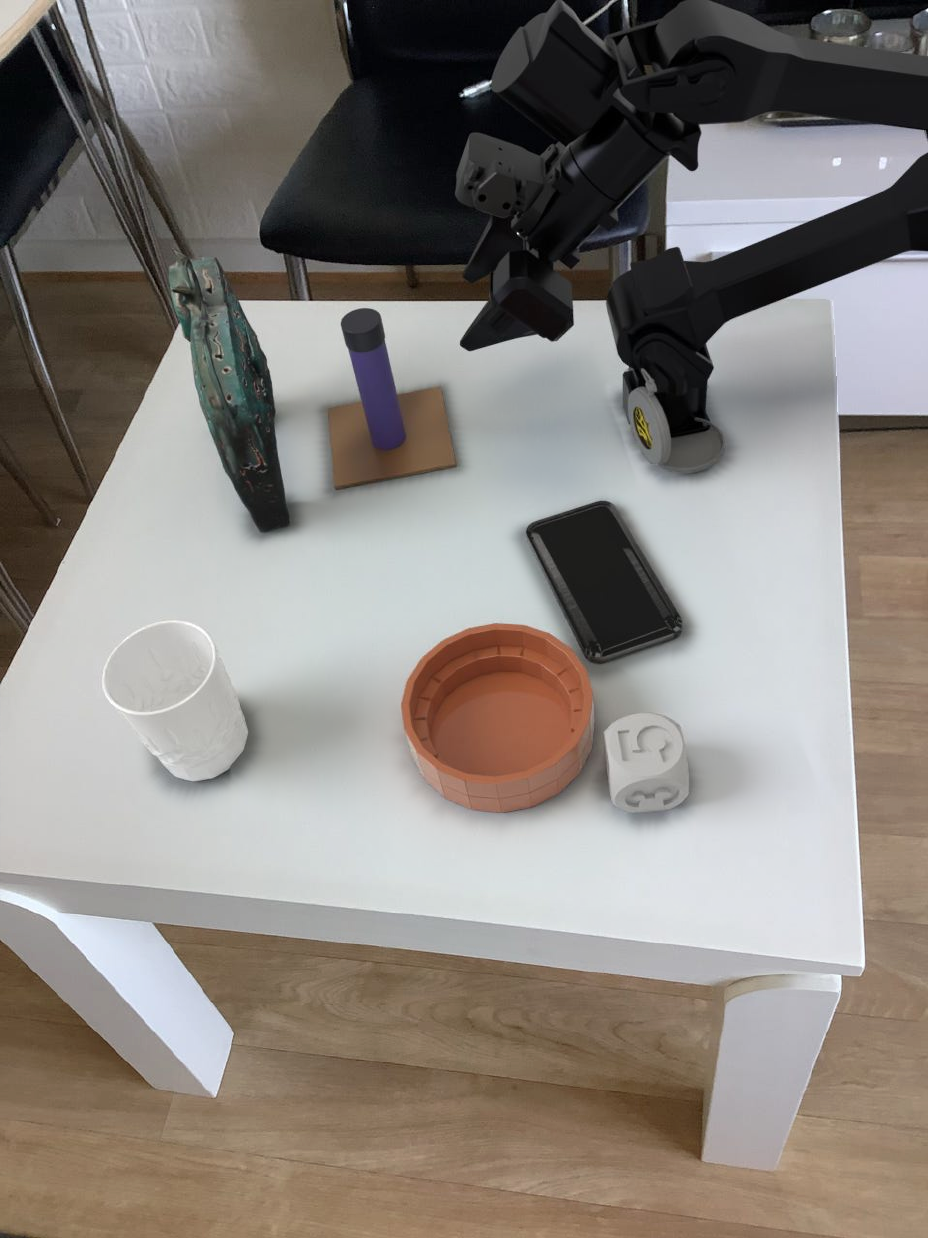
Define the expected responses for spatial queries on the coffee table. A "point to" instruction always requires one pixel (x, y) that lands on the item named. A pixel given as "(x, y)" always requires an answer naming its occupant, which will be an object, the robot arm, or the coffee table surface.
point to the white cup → (177, 698)
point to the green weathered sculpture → (231, 385)
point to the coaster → (415, 455)
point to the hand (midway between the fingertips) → (465, 312)
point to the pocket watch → (662, 449)
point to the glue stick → (374, 377)
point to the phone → (603, 582)
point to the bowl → (499, 717)
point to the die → (646, 763)
